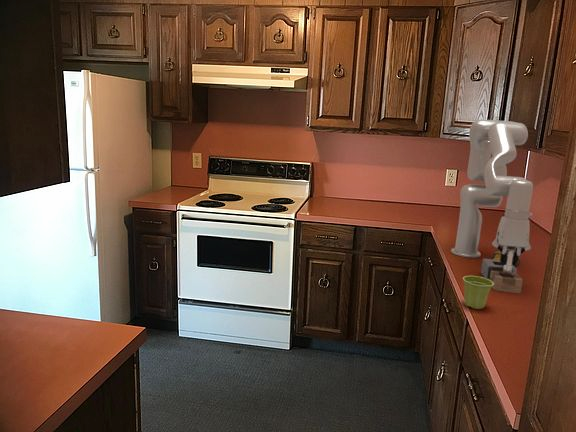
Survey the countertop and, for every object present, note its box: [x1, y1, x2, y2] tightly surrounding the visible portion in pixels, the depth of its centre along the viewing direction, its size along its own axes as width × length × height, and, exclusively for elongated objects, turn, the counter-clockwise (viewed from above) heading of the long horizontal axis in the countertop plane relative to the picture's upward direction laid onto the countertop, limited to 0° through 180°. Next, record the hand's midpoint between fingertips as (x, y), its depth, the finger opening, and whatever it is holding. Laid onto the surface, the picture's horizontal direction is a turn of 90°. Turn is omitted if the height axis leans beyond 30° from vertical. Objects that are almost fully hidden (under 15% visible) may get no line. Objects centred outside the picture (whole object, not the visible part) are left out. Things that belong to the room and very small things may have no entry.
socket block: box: [480, 258, 518, 280], centre depth 190 cm, size 10×10×6 cm
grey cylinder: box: [502, 249, 515, 277], centre depth 179 cm, size 3×3×12 cm
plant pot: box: [462, 275, 494, 310], centre depth 161 cm, size 9×9×9 cm
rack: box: [490, 270, 524, 294], centre depth 180 cm, size 8×9×5 cm
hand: (508, 264), depth 179 cm, fingers closed on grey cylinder, 3 cm apart
